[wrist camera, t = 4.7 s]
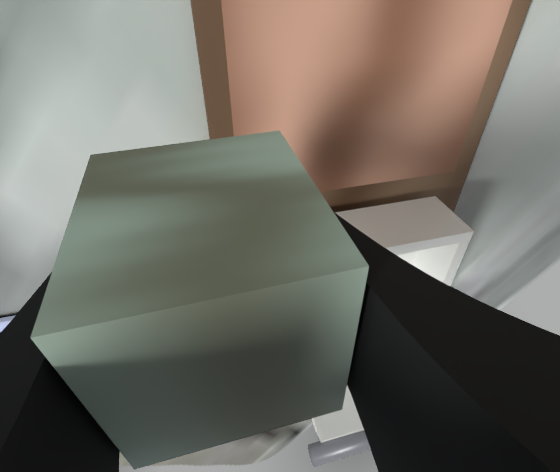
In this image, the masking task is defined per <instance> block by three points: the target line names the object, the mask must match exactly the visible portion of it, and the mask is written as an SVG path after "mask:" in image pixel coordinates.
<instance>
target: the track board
mask: <svg viewBox="0 0 560 472" xmlns="http://www.w3.org/2000/svg"><path fill="white" fill-rule="evenodd" d="M530 3H531V0H191V7H192V14H193V21H194V29H195V36H196V43H197V50H198V57H199V64H200V72H201V79H202V86H203V93H204V100H205V108H206V115H207V122H208V129H209V136H210V139H218V138H225V137H233V136H241V135H249V134H256V133H264V132H272V131H279V130H280V132H281V133H282V135H283V136H284V138H285V139H286V141H287V142H288V144H289V145H290V147H291V148H292V150H293V151H294V153H295V154H296V156H297V158H298V159H299V161H300V162H301V164H302V165H303V167H304V168H305V170H306V171H307V173H308V174H309V176H310V177H311V179H312V180H313V182H314V183H315V185H316V186H317V188H318V189H319V191H320V192H321V194H322V195H323V197H324V198H325V200H326V202H327V203H328V205H329V206H330V208H331V209H332V211H333V212H341V211H347V210H353V209H359V208H366V207H372V206H378V205H384V204H390V203H396V202H402V201H408V200H415V199H421V198H427V197H433V196H436V197H437V198H438V199H439V200H440V201H441V202H443V203H444V204H445V205H446V206H447V207H448V208H449V209H450V210H451V211H452V212H454V209H455V206H456V204H457V201H458V198H459V195H460V193H461V190H462V187H463V185H464V182H465V179H466V176H467V174H468V171H469V168H470V166H471V163H472V160H473V157H474V155H475V152H476V149H477V147H478V144H479V141H480V138H481V136H482V133H483V130H484V128H485V125H486V122H487V119H488V117H489V114H490V111H491V108H492V106H493V103H494V100H495V98H496V95H497V92H498V89H499V87H500V84H501V81H502V79H503V76H504V73H505V70H506V68H507V65H508V62H509V60H510V57H511V54H512V51H513V49H514V46H515V43H516V41H517V38H518V35H519V32H520V30H521V27H522V24H523V22H524V19H525V16H526V13H527V11H528V8H529V5H530Z"/></svg>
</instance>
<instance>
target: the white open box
mask: <svg viewBox="0 0 560 472" xmlns="http://www.w3.org/2000/svg"><path fill="white" fill-rule="evenodd" d="M335 213H336V214H337V215H339V216H340V217H342V218H343V219H344V220H346V221H347V222H349V223H350V224H351V225H353V226H354V227H355V228H357V229H358V230H360V231H361V232H363V233H364V234H365V235H367V236H368V237H370V238H371V239H373V240H374V241H376V242H377V243H379V244H380V245H382V246H383V247H385V248H386V249H388V250H389V251H391V252H392V253H394V254H395V255H397V256H398V257H400V258H402V259H403V260H405V261H407V262H408V263H410V264H412V265H413V266H415V267H417V268H418V269H420V270H422V271H423V272H425V273H427V274H428V275H430V276H432V277H434V278H436V279H437V280H439V281H441V282H443V283H445V284H447V285H449V286H451V284H452V282H453V279H454V277H455V275H456V272H457V270H458V268H459V265H460V263H461V261H462V258H463V256H464V254H465V251H466V249H467V247H468V244H469V242H470V240H471V237H472V235H473V233H474V231H473V230H472V229H471V228H470V227H469V226H468V225H467V224H466V223H465V222H463V221H462V220H461V219H460V218H459V217H458V216H457V215H456V214H455V213H454V212H452V211H451V210H450V209H449V208H448V207H447V206H446V205H445V204H444V203H443V202H441V201H440V200H439V199H438V198H437V197H436V196H433V197H427V198H421V199H415V200H408V201H402V202H396V203H390V204H384V205H378V206H372V207H366V208H359V209H353V210H347V211H341V212H335ZM312 421H313V424H314V427H315V430H316V433H317V437H318V440H319V442H315V443H312V444H309V445H308V449H309V455H310V458H311V462H312V464H313V466H314V467H316V466H319V465H323V464H326V463H329V462H333V461H336V460H339V459H342V458H345V457H349V456H352V455H355V454H358V453H362V452H365V451H368V450H371V448H370V445H369V443H368V440H367V437H366V434H365V431H364V428H363V426H362V423H361V420H360V418H359V415H358V412H357V409H356V407H355V404H354V401H353V398H352V396H351V393H350V391H349V388H348V386H347V387H346V392H345V397H344V403H343V408H342V410H339V411H336V412H332V413H329V414H325V415H322V416H318V417H315V418H312Z"/></svg>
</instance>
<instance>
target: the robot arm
mask: <svg viewBox="0 0 560 472" xmlns="http://www.w3.org/2000/svg"><path fill="white" fill-rule="evenodd" d="M334 214H335V215H336V217H337V218H338V220H339V221H340V223H341V224H342V226H343V227H344V229H345V230H346V232H347V233H348V235H349V236H350V238H351V239H352V241H353V242H354V244H355V246H356V247H357V249H358V250H359V252H360V253H361V255H362V256H363V258H364V259H365V261H366V262H367V264H368V265H369V270H368V275H367V280H366V286H365V291H364V296H363V301H362V307H361V312H360V317H359V323H358V328H357V333H356V339H355V344H354V349H353V355H352V360H351V365H350V371H349V376H348V381H347V386H348V388H349V391H350V393H351V396H352V398H353V401H354V404H355V407H356V409H357V412H358V415H359V418H360V420H361V423H362V426H363V428H364V431H365V434H366V437H367V440H368V443H369V445H370V448H371V451H372V454H373V457H374V460H375V462H376V465H377V468H378V471H379V472H560V336H559V335H557V334H554V333H551V332H549V331H546V330H544V329H541V328H539V327H536V326H534V325H532V324H530V323H527V322H525V321H522V320H520V319H518V318H516V317H514V316H511V315H509V314H507V313H504V312H502V311H500V310H497V309H495V308H493V307H491V306H489V305H487V304H485V303H482V302H480V301H478V300H476V299H474V298H472V297H470V296H468V295H466V294H464V293H462V292H460V291H458V290H457V289H455V288H453V287H451V286H449V285H447V284H445V283H443V282H441V281H439V280H437V279H436V278H434V277H432V276H430V275H428V274H427V273H425V272H423V271H422V270H420V269H418V268H417V267H415V266H413V265H412V264H410V263H408V262H407V261H405V260H403V259H402V258H400V257H398V256H397V255H395V254H394V253H392V252H391V251H389V250H388V249H386V248H385V247H383V246H382V245H380V244H379V243H377V242H376V241H374V240H373V239H371V238H370V237H368V236H367V235H365V234H364V233H363V232H361V231H360V230H358V229H357V228H355V227H354V226H353V225H351V224H350V223H349V222H347V221H346V220H344V219H343V218H342V217H340V216H339V215H337V214H336V213H335V212H334ZM51 274H52V272H51ZM51 274H50V275H49V276H48V277H47V279H46V280H45V281H44V282H43V283H42V285H41V286H40V287H39V288H38V289H37V291H36V292H35V293H34V294H33V295H32V297H31V298H30V299H29V300H28V301H27V303H26V304H25V305H24V306H23V307H22V309H21V310H20V311H19V312H18V313H17V315H15V316H9V317H4V318H0V472H119V452H120V451H119V449H118V448H117V447H116V446H115V444H114V443H113V442H112V440H111V439H110V438H109V437H108V435H107V434H106V433H105V432H104V430H103V429H102V428H101V427H100V425H99V424H98V423H97V422H96V420H95V419H94V418H93V416H92V415H91V414H90V413H89V411H88V410H87V409H86V408H85V406H84V405H83V404H82V403H81V401H80V400H79V399H78V398H77V396H76V395H75V394H74V392H73V391H72V390H71V389H70V387H69V386H68V385H67V384H66V382H65V381H64V380H63V379H62V377H61V376H60V375H59V374H58V372H57V371H56V370H55V368H54V367H53V366H52V365H51V363H50V362H49V361H48V360H47V358H46V357H45V356H44V355H43V353H42V352H41V351H40V350H39V348H38V347H37V346H36V344H35V343H34V342H33V341H32V339H31V338H30V337H31V334H32V331H33V328H34V325H35V322H36V319H37V316H38V313H39V310H40V307H41V304H42V301H43V298H44V295H45V292H46V289H47V286H48V283H49V280H50V277H51Z"/></svg>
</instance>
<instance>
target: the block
mask: <svg viewBox="0 0 560 472" xmlns="http://www.w3.org/2000/svg"><path fill="white" fill-rule="evenodd" d="M368 270H369V265H368V264H367V262H366V261H365V259H364V258H363V256H362V255H361V253H360V252H359V250H358V249H357V247H356V246H355V244H354V242H353V241H352V239H351V238H350V236H349V235H348V233H347V232H346V230H345V229H344V227H343V226H342V224H341V223H340V221H339V220H338V218H337V217H336V215H335V214H334V212H333V211H332V209H331V208H330V206H329V205H328V203H327V202H326V200H325V198H324V197H323V195H322V194H321V192H320V191H319V189H318V188H317V186H316V185H315V183H314V182H313V180H312V179H311V177H310V176H309V174H308V173H307V171H306V170H305V168H304V167H303V165H302V164H301V162H300V161H299V159H298V158H297V156H296V154H295V153H294V151H293V150H292V148H291V147H290V145H289V144H288V142H287V141H286V139H285V138H284V136H283V135H282V133H281V132H280V130H279V131H272V132H264V133H256V134H249V135H241V136H233V137H225V138H218V139H210V140H202V141H194V142H187V143H179V144H171V145H164V146H156V147H148V148H140V149H133V150H125V151H117V152H110V153H102V154H94V155H90V159H89V162H88V165H87V168H86V171H85V174H84V177H83V180H82V183H81V186H80V189H79V192H78V195H77V198H76V201H75V204H74V207H73V210H72V213H71V216H70V219H69V222H68V225H67V228H66V231H65V234H64V237H63V240H62V243H61V246H60V249H59V253H58V256H57V259H56V262H55V265H54V268H53V271H52V274H51V277H50V280H49V283H48V286H47V289H46V292H45V295H44V298H43V301H42V304H41V307H40V310H39V313H38V316H37V319H36V322H35V325H34V328H33V331H32V334H31V337H30V338H31V339H32V341H33V342H34V343H35V344H36V346H37V347H38V348H39V350H40V351H41V352H42V353H43V355H44V356H45V357H46V358H47V360H48V361H49V362H50V363H51V365H52V366H53V367H54V368H55V370H56V371H57V372H58V374H59V375H60V376H61V377H62V379H63V380H64V381H65V382H66V384H67V385H68V386H69V387H70V389H71V390H72V391H73V392H74V394H75V395H76V396H77V398H78V399H79V400H80V401H81V403H82V404H83V405H84V406H85V408H86V409H87V410H88V411H89V413H90V414H91V415H92V416H93V418H94V419H95V420H96V422H97V423H98V424H99V425H100V427H101V428H102V429H103V430H104V432H105V433H106V434H107V435H108V437H109V438H110V439H111V440H112V442H113V443H114V444H115V446H116V447H117V448H118V449H119V451H120V452H121V453H122V454H123V456H124V457H125V458H126V459H127V461H128V462H129V463H130V464H131V466H132V467H133V468H134V469H137V468H141V467H144V466H148V465H151V464H155V463H158V462H162V461H165V460H169V459H172V458H176V457H179V456H183V455H186V454H190V453H193V452H197V451H200V450H204V449H207V448H211V447H214V446H217V445H221V444H224V443H228V442H231V441H235V440H238V439H242V438H245V437H249V436H252V435H256V434H259V433H263V432H266V431H270V430H273V429H277V428H280V427H284V426H287V425H291V424H294V423H297V422H301V421H304V420H308V419H311V418H315V417H318V416H322V415H325V414H329V413H332V412H336V411H339V410H342V408H343V403H344V397H345V392H346V387H347V381H348V376H349V371H350V365H351V360H352V355H353V349H354V344H355V339H356V333H357V328H358V323H359V317H360V312H361V307H362V301H363V296H364V291H365V286H366V280H367V275H368Z"/></svg>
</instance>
